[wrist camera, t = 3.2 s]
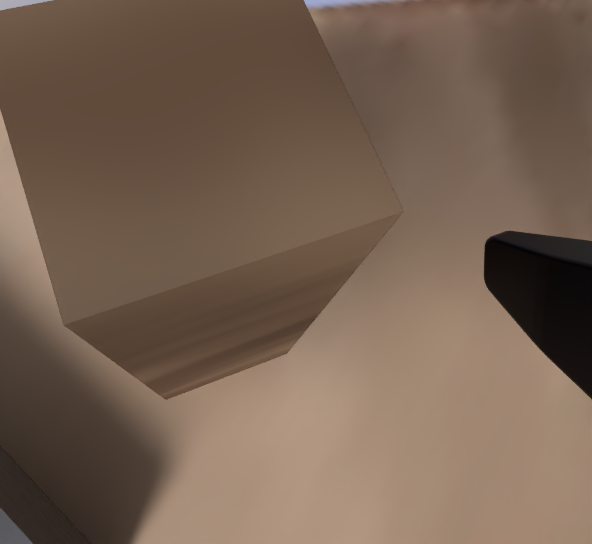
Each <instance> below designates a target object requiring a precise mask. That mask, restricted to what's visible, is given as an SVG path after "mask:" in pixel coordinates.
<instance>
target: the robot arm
mask: <svg viewBox="0 0 592 544" xmlns="http://www.w3.org/2000/svg"><path fill="white" fill-rule="evenodd" d="M484 280H485V284H486V286H487V288H488V289H489V291H490V292H491V293H492V294H493V296H494V297H495V298H496V299H497V300H498V301H499V303H500V304H501V305H502V306H503V307H504V308H505V310H506V311H507V312H508V313H509V314H510V315H511V317H512V318H513V319H514V320H515V321H516V322H517V324H518V325H519V326H520V327H521V328H522V329H523V331H524V332H525V333H526V334H527V335H528V337H529V338H530V339H531V340H532V341H533V342H534V343H535V344H536V346H537V347H538V348H539V349H540V350H541V351H542V352H543V353H544V354H545V355H546V356H547V357H548V358H549V359H550V360H551V361H552V362H553V363H554V364H555V365H556V366H557V367H558V368H560V369H561V370H562V371H563V372H564V373H565V374H566V375H567V376H568V377H569V378H570V379H571V380H572V381H573V382H574V383H575V384H576V385H577V386H578V387H579V388H581V389H582V390H583V391H584V392H585V393H586V394H587V395H588V396H589V397H590V398H591V399H592V241H587V240H579V239H571V238H563V237H555V236H547V235H539V234H531V233H523V232H515V231H505V232H502V233H500V234H497V235H494V236H491V237H489V238H488V239H487V241H486V243H485V252H484Z"/></svg>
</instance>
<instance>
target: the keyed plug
mask: <svg viewBox="0 0 592 544" xmlns="http://www.w3.org/2000/svg"><path fill="white" fill-rule="evenodd" d="M0 109H1V112H2V116H3V119H4V123H5V126H6V129H7V133H8V136H9V140H10V143H11V147H12V150H13V153H14V157H15V160H16V164H17V167H18V170H19V174H20V177H21V181H22V184H23V188H24V191H25V194H26V198H27V201H28V205H29V208H30V211H31V215H32V218H33V222H34V225H35V229H36V232H37V235H38V239H39V242H40V246H41V249H42V253H43V256H44V259H45V263H46V266H47V270H48V273H49V276H50V280H51V283H52V287H53V290H54V294H55V297H56V300H57V304H58V307H59V311H60V314H61V317H62V321H63V324H64V326H66V327H67V328H69V329H70V330H71V331H73V332H74V333H75V334H77V335H78V336H79V337H81V338H82V339H84V340H85V341H86V342H88V343H89V344H90V345H92V346H93V347H94V348H96V349H97V350H99V351H100V352H101V353H103V354H104V355H105V356H107V357H108V358H110V359H111V360H112V361H114V362H115V363H116V364H118V365H119V366H120V367H122V368H123V369H125V370H126V371H127V372H129V373H130V374H131V375H133V376H134V377H135V378H137V379H138V380H140V381H141V382H142V383H144V384H145V385H146V386H148V387H149V388H150V389H152V390H153V391H155V392H156V393H157V394H159V395H160V396H161V397H163V398H164V399H166V400H167V399H169V398H172V397H174V396H177V395H180V394H182V393H185V392H187V391H190V390H193V389H195V388H198V387H200V386H203V385H206V384H208V383H211V382H213V381H216V380H219V379H221V378H224V377H226V376H229V375H232V374H234V373H237V372H240V371H242V370H245V369H247V368H250V367H253V366H255V365H258V364H260V363H263V362H266V361H268V360H271V359H273V358H276V357H279V356H281V355H284V354H286V353H287V352H288V351H289V350H290V349H291V348H292V346H293V345H294V344H295V343H296V342H297V340H298V339H299V338H300V337H301V336H302V334H303V333H304V332H305V331H306V329H307V328H308V327H309V326H310V325H311V323H312V322H313V321H314V320H315V319H316V317H317V316H318V315H319V314H320V312H321V311H322V310H323V309H324V308H325V306H326V305H327V304H328V303H329V302H330V300H331V299H332V298H333V297H334V295H335V294H336V293H337V292H338V291H339V289H340V288H341V287H342V286H343V285H344V283H345V282H346V281H347V280H348V278H349V277H350V276H351V275H352V274H353V272H354V271H355V270H356V269H357V268H358V266H359V265H360V264H361V263H362V262H363V260H364V259H365V258H366V257H367V255H368V254H369V253H370V252H371V251H372V249H373V248H374V247H375V246H376V245H377V243H378V242H379V241H380V240H381V238H382V237H383V236H384V235H385V234H386V232H387V231H388V230H389V229H390V228H391V226H392V225H393V224H394V223H395V221H396V220H397V219H398V218H399V217H400V215H401V214H402V213H403V212H404V211H403V209H402V207H401V204H400V202H399V200H398V198H397V196H396V194H395V192H394V190H393V188H392V185H391V183H390V181H389V179H388V177H387V175H386V173H385V171H384V169H383V167H382V164H381V162H380V160H379V158H378V156H377V154H376V152H375V150H374V148H373V146H372V143H371V141H370V139H369V137H368V135H367V133H366V131H365V129H364V127H363V124H362V122H361V120H360V118H359V116H358V114H357V112H356V110H355V108H354V106H353V103H352V101H351V99H350V97H349V95H348V93H347V91H346V89H345V87H344V85H343V82H342V80H341V78H340V76H339V74H338V72H337V70H336V68H335V66H334V63H333V61H332V59H331V57H330V55H329V53H328V51H327V49H326V47H325V45H324V42H323V40H322V38H321V36H320V34H319V32H318V30H317V28H316V26H315V24H314V21H313V19H312V17H311V15H310V13H309V11H308V9H307V7H306V5H305V2H304V0H53V1H48V2H43V3H37V4H32V5H27V6H22V7H17V8H11V9H6V10H1V11H0Z"/></svg>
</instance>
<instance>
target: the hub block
mask: <svg viewBox="0 0 592 544" xmlns="http://www.w3.org/2000/svg"><path fill="white" fill-rule="evenodd" d="M0 544H90V543H89V542H88V541H87V539H86V538H85V537H84V536H83V535H82V534H81V533H80V532H79V531H78V530H77V529H76V528H75V527H74V525H73V524H72V523H71V522H70V521H69V520H68V519H67V518H66V517H65V516H64V515H63V514H62V512H61V511H60V510H59V509H58V508H57V507H56V506H55V505H54V504H53V503H52V502H51V501H50V500H49V498H48V497H47V496H46V495H45V494H44V493H43V492H42V491H41V490H40V489H39V488H38V487H37V485H36V484H35V483H34V482H33V481H32V480H31V479H30V478H29V477H28V476H27V475H26V474H25V472H24V471H23V470H22V469H21V468H20V467H19V466H18V465H17V464H16V463H15V462H14V461H13V460H12V458H11V457H10V456H9V455H8V454H7V453H6V452H5V451H4V450H3V449H2V448H1V447H0Z"/></svg>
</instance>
